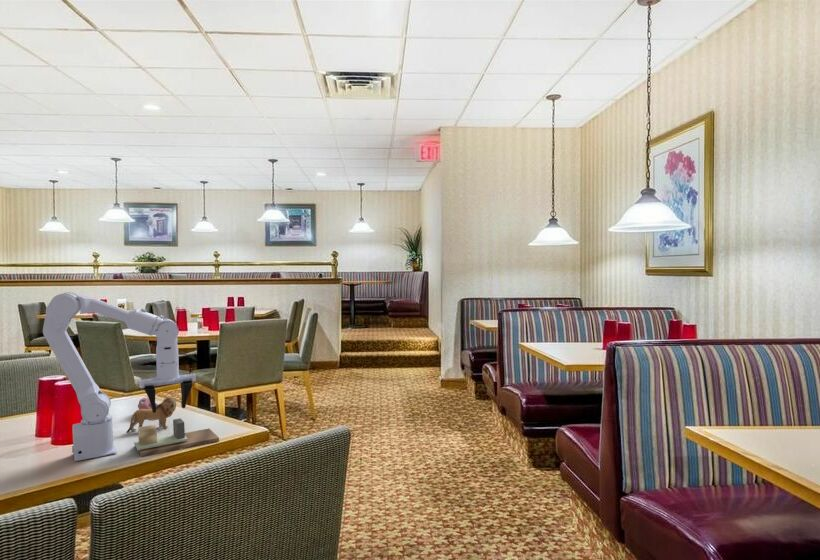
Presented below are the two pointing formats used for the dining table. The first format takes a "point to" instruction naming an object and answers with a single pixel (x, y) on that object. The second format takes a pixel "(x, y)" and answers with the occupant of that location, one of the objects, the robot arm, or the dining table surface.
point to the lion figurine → (154, 414)
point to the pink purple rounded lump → (145, 404)
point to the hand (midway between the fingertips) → (169, 409)
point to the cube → (147, 435)
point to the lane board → (184, 442)
